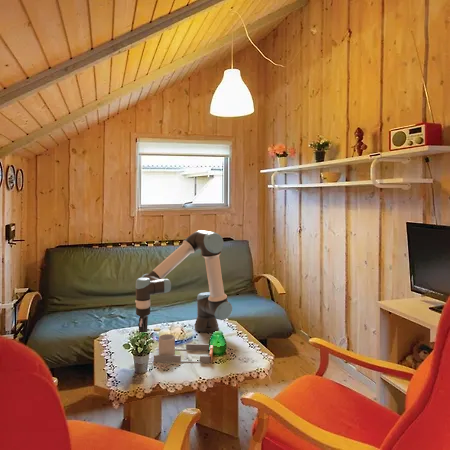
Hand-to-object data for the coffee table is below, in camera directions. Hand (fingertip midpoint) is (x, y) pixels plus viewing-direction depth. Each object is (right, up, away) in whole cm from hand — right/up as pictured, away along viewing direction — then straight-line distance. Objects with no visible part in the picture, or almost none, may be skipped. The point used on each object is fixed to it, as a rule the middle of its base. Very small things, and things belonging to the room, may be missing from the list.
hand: (143, 349), depth 217 cm
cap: (+37, +1, -1) cm, 37 cm away
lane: (+22, -3, 0) cm, 22 cm away
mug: (+12, -3, 0) cm, 13 cm away
